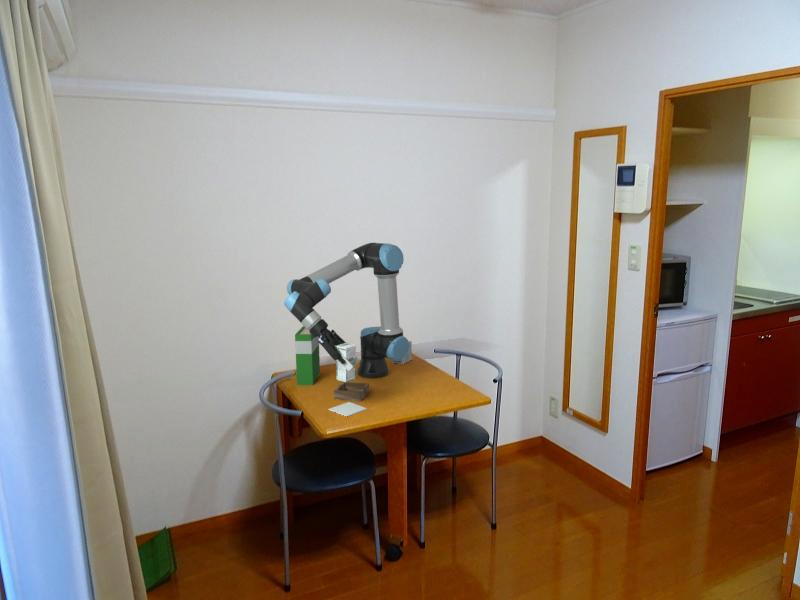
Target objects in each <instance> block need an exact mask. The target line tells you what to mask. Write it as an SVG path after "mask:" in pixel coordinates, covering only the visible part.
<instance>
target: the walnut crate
mask: <svg viewBox="0 0 800 600" xmlns="http://www.w3.org/2000/svg"><path fill="white" fill-rule="evenodd" d="M369 393H370V384H369V383H365V382H353V381H352V382H351V381H349V382H343V381H342V383H340V384H339V385H338V386H337V387H336V388H335V389H334V390H333V399H334V400H335V399H339V401H347V400H348V402H359V403H361V402H362V401H363V400H364V399H365V398H366V397H367V395H368V394H369Z"/></svg>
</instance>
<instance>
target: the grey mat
mask: <svg viewBox="0 0 800 600" xmlns="http://www.w3.org/2000/svg"><path fill="white" fill-rule="evenodd" d="M367 409H368V408H367V407H364V406H361V405H359V404H355V403H353V402H352V401H348V402H345V403H341V404H339V405H336V406H334V407H330V408H328V411H331V412H333V413H335V412H336V414H338V415H340V414H341V416H343V415H344V416H343V417H345V416H346V417H345V418H347V416H348V417H350V416H353V415H356V414H358V413H361V412H363V411H366V410H367Z"/></svg>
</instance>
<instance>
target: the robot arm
mask: <svg viewBox="0 0 800 600" xmlns="http://www.w3.org/2000/svg"><path fill="white" fill-rule="evenodd" d="M404 260H405V259H404V253H403V251H402V250H401V248H400V247H399V246H398V245H395V244H392V243H385V242H384V243H383V242H368V243H366V244H363V245H360V246H358V247H356V248H354V249H352V250H350V251H348V253H347V254H346V255H345V256H343V257H342V258H340V259H337V260H336V261H333V262H332V263H330V264H328V265H326V266H324V267H322V268H320V269H317V270H316V271H314V272H312V273H310V274H308V275H305V276H303V277H301V278H299V279H291V280H289V282H287V285H286V292H287V294H288V296H286V298H285V300H284V302H283V304H284V306H285V308H286V309H287V310H288V311H289V313H291V314H292V316H294V317H295V319H297V320H298V321H299V322H300V324H302V327H305V328H306V329H307V330H309V332H310V333H311V334H312V335H313V336H314V337H317V336H318V337H319V340H318V343H319V345H321V346H322V348H324V350H325V351H326V352H327V354H329V356H330V357H331V358H332V360H334V361H335V362H336V360H337V359H338V360H339V362H340V363H341V364H342V365H343V366H344V367H345V368H346V369H347V370H348V371H349V370H350V369H352V368H353V367H354V366H353V365H352V364H351V363H350V362H349V361H348V360H347V359H346V358H345V357H344V355H343V354H342V355H341V354H340V352H339V351H338V349H337V348H336V346H337V345H341V344H344V343H347V342H346V341H345V340H344V339H343V338H342V337H341V336H340V335H339V334H338V333H337V332H336V331H335V330H334V329H331V330H329V329H328V327H329V324H328V323H327V321H326V320H325V319H323V318H322V316H321V315H320V314H319V313H318V312H317V310H315V309H314V308H315V306H316V305H318V304H319V303H320V302H322V301H323V300H324V299H325V298H327V297H328V295H329V294H331V292H332V288H331V286H330V284H331V283H333V282H334V281H336V280H339V279H340V278H342V277H345V276H346V275H349V274H350V273H352V272H354V271H360V270H363V269H366V268H368V269H371V268H372V269H373V275H374V276H375V277H376V279H377V289H378V293H377V294H378V304H379V317H380V320H379V321H380V326H369V327H365V328H363V329H361V331H360V339H359V340H360V359H359V358H358V357H357V356H356V365H357V364H358V363H359V365H358V367H357V375H358V376H360V377H362V378H365V377H366V378H365V379H378V377H380V378H383V376H384V377H387V376H388V375H389V374H388V373H389V366H388V362H387V361H386V359H388V360H391V361H392V360H400V359H402V358H403V357H404V356H405V354H406V353H407V351H408V348H409V342H408V341H409V340H408V338H407V337H406V336H404V330H403V328H402V327H401V326H400V317H399V316H400V314H399V303H398V301H399V300H398V285H397V277H398V275H399V274H400V269H401V268H402V266H403V264H404Z"/></svg>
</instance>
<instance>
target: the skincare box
mask: <svg viewBox="0 0 800 600" xmlns="http://www.w3.org/2000/svg"><path fill="white" fill-rule="evenodd" d="M408 342H409V348H408V351H407V353H406V354H405V356H404V357H403V358H402V359H400V360H391V364H392V363H397V364H403V365H405V364H407V363H409V362H411V361H410V360H411V359H412V360H413V353H412V350H413V349H412V348H413V347H412V346H413V345H412V341H411V340H408ZM408 361H409V362H408ZM406 362H407V363H406ZM404 363H405V364H404ZM397 364H396V365H397Z"/></svg>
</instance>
